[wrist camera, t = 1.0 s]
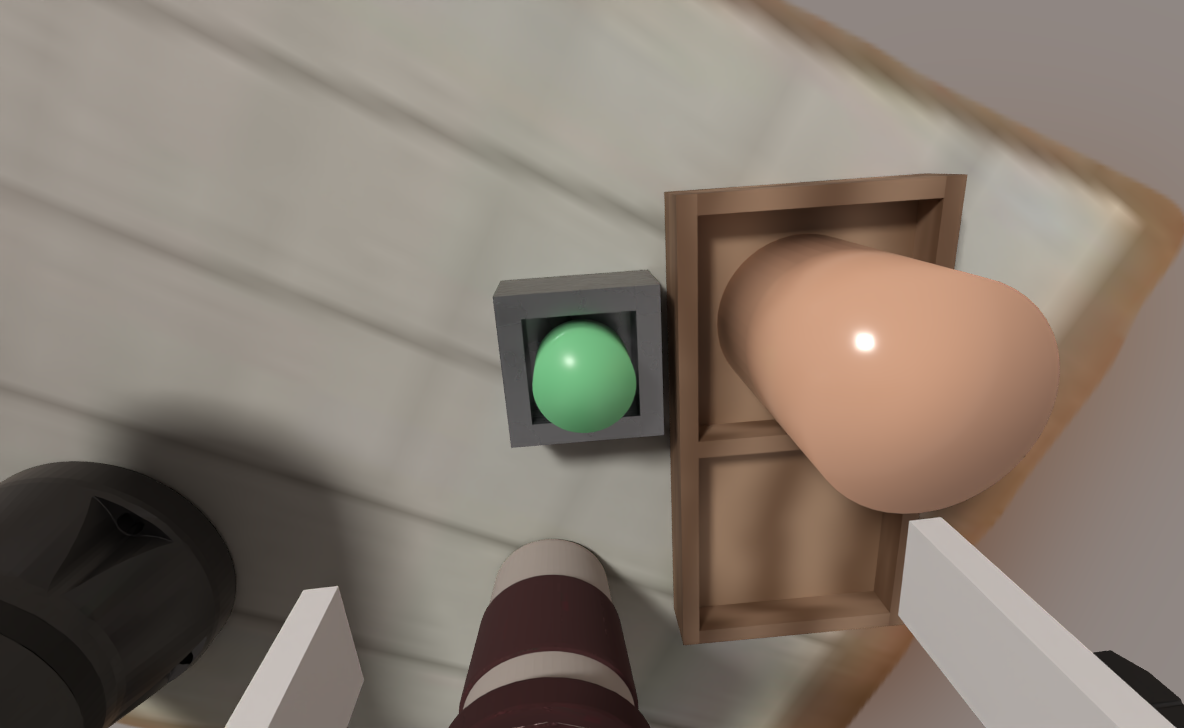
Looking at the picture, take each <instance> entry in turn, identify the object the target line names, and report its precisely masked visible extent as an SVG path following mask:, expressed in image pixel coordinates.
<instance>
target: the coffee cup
mask: <svg viewBox="0 0 1184 728" xmlns="http://www.w3.org/2000/svg"><path fill="white" fill-rule="evenodd" d="M449 728H650V726H649V724H648V723H647V721H646V720H645V718H644V716H643V715H642V714H641V713H640V711H639V710H638V699H637V694H636V689H635V685H634V680H633V676H632V672H631V667H630V663H629V658H628V654H627V649H626V645H625V641H624V636H623V632H622V627H621V623H620V619H619V616H618V613H617V611H616V609H615V607H614V605H613V603H612V599H611V594H610V590H609V585H608V581H607V576H606V573H605V570H604V568H603V566H602V564H601V563H600V562H599V560H598V559H597V558H596V556H594V555H593V554H592V553H591V552H590V551H589V550H587V549H586V548H584V547H582V546H581V545H579V544H576V543H573V542H571V541H566V540H561V539H545V540H538V541H535V542H532V543H529V544H526V545H524V546H522V547H520V548H519V549H517V550H516V551H514V552H513V553H512V554H511V555H510V556H509V557H508V558H507V559H506V560H505V561H504V563H503V564H502V566H501V568H500V569H499V571H498V574H497V576H496V580H495V584H494V588H493V592H492V596H491V600H490V604H489V606H488V607H487V609H486V611H485V613H484V615H483V618H482V621H481V624H480V628H479V632H478V636H477V640H476V643H475V647H474V651H473V655H472V659H471V662H470V666H469V670H468V674H467V678H466V681H465V685H464V689H463V693H462V697H461V701H460V706H459V714H458V716H457V717H456V718H455V719H454V721H453V722H452V723H451V725H450V726H449Z"/></svg>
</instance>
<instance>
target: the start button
mask: <svg viewBox="0 0 1184 728" xmlns="http://www.w3.org/2000/svg"><path fill="white" fill-rule="evenodd" d="M532 386H533V395H534V399H535V402H536V404H537V406H538V408H539V410H540V411H541V413H542V414H543V415H544V416H545V417H546V418H547V419H548V420H549V421H550V422H551V423H553V424H554V425H556V426H558V427H560V428H562V429H564V430H567V431H571V432H576V433H591V432H596V431H600V430H603V429H605V428H608V427H609V426H611V425H613V424H614V423H616V422H617V421H618V420H620V419H621V418H622V417H623V416H624V414H625V413H626V412H627V411H628V409H629V408H630V406H631V404H632V402H633V399H634V396H635V391H636V375H635V372H634V368H633V365H632V363H631V360H630V357H629V355H628V352H627V349H626V347H625V344H624V343H623V341H622V339H621V338H620V337H619V335H618V334H617V333H616V332H615V331H614V330H612V329H611V328H610V327H608V326H606V325H605V324H603V323H600V322H598V321H594V320H588V319H577V320H571V321H567V322H565V323H562V324H560V325H558V326H557V327H555V328H554V329H552V330H551V331H550V332H549V333H548V334H547V335H546V336H545V337H544V339H543V340H542V341H541V343H540V345H539V347H538V350H537V353H536V357H535V366H534V374H533V383H532Z"/></svg>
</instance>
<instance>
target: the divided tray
mask: <svg viewBox="0 0 1184 728" xmlns="http://www.w3.org/2000/svg"><path fill="white" fill-rule="evenodd" d="M966 181H967V175H965V174H914V175H899V176H885V177H871V178H857V179H843V180H829V181H814V182H800V183H786V184H772V185H758V186H744V187H729V188H715V189H701V190H687V191H673V192H664V196H665V240H666V284H667V327H668V371H669V415H670V458H671V502H672V546H673V590H674V610H675V614H676V618H677V622H678V626H679V630H680V633H681V637H682V641H683V645H691V644H702V643H713V642H723V641H734V640H744V639H755V638H766V637H776V636H787V635H797V634H808V633H818V632H829V631H840V630H850V629H861V628H871V627H882V626H893V625H903V624H904V622H903V621H902V620H901V618H900V617H899V616H898V612H899V604H900V595H901V587H902V578H903V570H904V561H905V553H906V544H907V536H908V527H909V521H912V520H919V514H920V513H910V514H899V513H887V512H883V511H878V510H873V509H870V508H868V507H865V506H862V505H859V504H858V503H856V502H854V501H852V500H850V499H848V498H847V497H845V496H844V495H842V494H841V493H840V492H838V491H837V490H836V489H835V488H834V487H833V486H832V485H831V484H830V483H829V482H828V481H827V480H826V479H825V478H824V476H823V475H822V474H821V473H820V472H819V471H818V469H817V468H816V467H815V466H814V465H813V463H812V462H811V461H810V460H809V459H808V458H807V456H806V455H805V454H804V453H803V452H802V450H801V449H800V448H799V447H798V446H797V445H796V443H795V442H794V441H793V440H792V439H791V438H790V436H789V435H788V434H787V433H786V432H785V430H784V429H783V428H782V427H781V426H780V425H779V423H778V422H777V421H776V420H775V419H774V417H773V416H772V415H771V414H770V413H769V412H768V410H767V409H766V408H765V407H764V406H763V404H762V403H761V402H760V401H759V400H758V399H757V397H756V396H755V395H754V394H753V393H752V392H751V390H750V389H749V388H748V387H747V386H746V384H745V383H744V382H743V381H742V380H741V379H740V377H739V376H738V375H737V374H736V373H735V371H734V370H733V369H732V368H731V366H730V365H729V363H728V362H727V360H726V358H725V356H724V355H723V352H722V349H721V347H720V344H719V339H718V333H717V316H718V310H719V305H720V301H721V298H722V295H723V292H724V290H725V288H726V286H727V284H728V282H729V280H730V279H731V277H732V276H733V274H734V273H735V271H736V270H737V269H738V268H739V267H740V265H741V264H742V263H743V262H744V261H745V260H746V259H747V258H749V257H750V256H751V255H752V254H753V253H755V252H756V251H757V250H759V249H760V248H762V247H764V246H765V245H767V244H769V243H771V242H773V241H776V240H778V239H780V238H784V237H787V236H791V235H797V234H821V235H827V236H830V237H834V238H838V239H842V240H845V241H849V242H853V243H857V244H860V245H864V246H868V247H872V248H875V249H879V250H883V251H887V252H890V253H894V254H898V255H902V256H905V257H909V258H913V259H917V260H920V261H924V262H928V263H932V264H935V265H939V266H943V267H947V268H950V269H954V266H955V259H956V252H957V244H958V237H959V230H960V223H961V216H962V209H963V202H964V195H965V188H966Z"/></svg>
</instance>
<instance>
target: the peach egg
mask: <svg viewBox="0 0 1184 728" xmlns="http://www.w3.org/2000/svg"><path fill="white" fill-rule="evenodd" d="M717 333H718V339H719V344H720V347H721V349H722V352H723V355H724V356H725V358H726V360H727V362H728V363H729V365H730V366H731V368H732V369H733V370H734V371H735V373H736V374H737V375H738V376H739V377H740V379H741V380H742V381H743V382H744V383H745V384H746V386H747V387H748V388H749V389H750V390H751V392H752V393H753V394H754V395H755V396H756V397H757V399H758V400H759V401H760V402H761V403H762V404H763V406H764V407H765V408H766V409H767V410H768V412H769V413H770V414H771V415H772V416H773V417H774V419H775V420H776V421H777V422H778V423H779V425H780V426H781V427H782V428H783V429H784V430H785V432H786V433H787V434H788V435H789V436H790V438H791V439H792V440H793V441H794V442H795V443H796V445H797V446H798V447H799V448H800V449H801V450H802V452H803V453H804V454H805V455H806V456H807V458H808V459H809V460H810V461H811V462H812V463H813V465H814V466H815V467H816V468H817V469H818V471H819V472H820V473H821V474H822V475H823V476H824V478H825V479H826V480H827V481H828V482H829V483H830V484H831V485H832V486H833V487H834V488H835V489H836V490H837V491H838V492H840V493H841V494H842V495H844V496H845V497H847V498H848V499H850V500H852V501H854V502H856V503H858V504H859V505H862V506H865V507H868V508H870V509H873V510H878V511H883V512H887V513H899V514H910V513H923V512H929V511H935V510H939V509H942V508H946V507H950V506H952V505H955V504H958V503H960V502H963V501H965V500H967V499H969V498H971V497H973V496H975V495H977V494H979V493H981V492H982V491H984V490H986V489H987V488H989V487H991V486H992V485H994V484H995V483H996V482H997V481H999V480H1000V479H1001V478H1003V477H1004V476H1005V475H1006V474H1008V473H1009V472H1010V471H1011V470H1012V469H1013V468H1014V467H1015V466H1016V465H1017V464H1018V463H1019V462H1020V461H1021V460H1022V459H1023V457H1024V456H1025V455H1026V454H1027V453H1028V452H1029V451H1030V449H1031V448H1032V446H1033V445H1034V444H1035V442H1036V441H1037V439H1038V438H1039V436H1040V434H1041V433H1042V431H1043V429H1044V427H1045V425H1046V424H1047V421H1048V419H1049V417H1050V414H1051V412H1052V409H1053V407H1054V403H1055V400H1056V396H1057V392H1058V385H1059V379H1060V360H1059V353H1058V346H1057V343H1056V340H1055V337H1054V333H1053V331H1052V329H1051V327H1050V325H1049V323H1048V321H1047V319H1046V318H1045V317H1044V315H1043V314H1042V312H1041V311H1040V310H1039V308H1038V307H1037V306H1036V305H1035V304H1034V303H1033V302H1032V301H1031V300H1030V299H1028V298H1027V297H1026V296H1025V295H1023V294H1022V293H1020V292H1019V291H1017V290H1016V289H1014V288H1012V287H1010V286H1008V285H1006V284H1003V283H1001V282H998V281H995V280H991V279H988V278H984V277H980V276H977V275H973V274H969V273H965V272H962V271H958V270H954V269H950V268H947V267H943V266H939V265H935V264H932V263H928V262H924V261H920V260H917V259H913V258H909V257H905V256H902V255H898V254H894V253H890V252H887V251H883V250H879V249H875V248H872V247H868V246H864V245H860V244H857V243H853V242H849V241H845V240H842V239H838V238H834V237H830V236H827V235H821V234H797V235H791V236H787V237H784V238H780V239H778V240H776V241H773V242H771V243H769V244H767V245H765V246H764V247H762V248H760V249H759V250H757V251H756V252H755V253H753V254H752V255H751V256H750V257H749V258H747V259H746V260H745V261H744V262H743V263H742V264H741V265H740V267H739V268H738V269H737V270H736V271H735V273H734V274H733V276H732V277H731V279H730V280H729V282H728V284H727V286H726V288H725V290H724V292H723V295H722V298H721V301H720V305H719V310H718V316H717Z"/></svg>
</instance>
